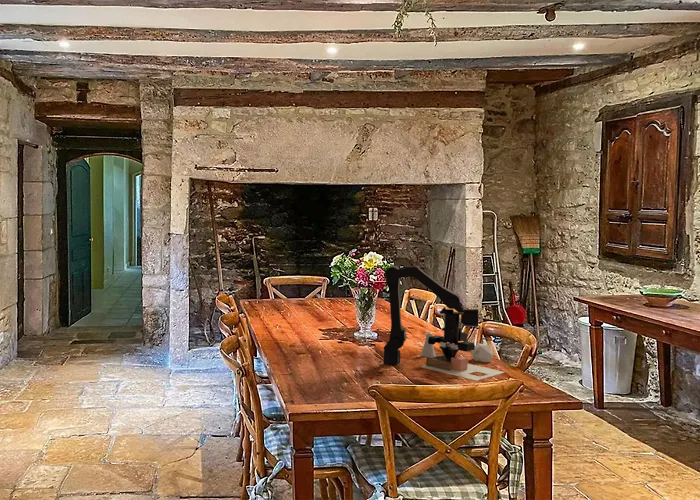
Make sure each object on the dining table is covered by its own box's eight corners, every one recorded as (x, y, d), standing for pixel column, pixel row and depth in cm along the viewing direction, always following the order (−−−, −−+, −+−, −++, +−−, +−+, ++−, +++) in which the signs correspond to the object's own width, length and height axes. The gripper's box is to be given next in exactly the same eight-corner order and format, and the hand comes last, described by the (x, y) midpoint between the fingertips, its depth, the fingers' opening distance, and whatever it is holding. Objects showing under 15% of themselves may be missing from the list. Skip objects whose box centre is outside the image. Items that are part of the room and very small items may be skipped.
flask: (438, 356, 295) (438, 333, 294) (435, 360, 288) (436, 336, 287) (421, 355, 297) (421, 332, 296) (418, 359, 290) (418, 335, 289)
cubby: (448, 370, 266) (449, 363, 266) (426, 365, 274) (426, 357, 274) (464, 366, 273) (464, 359, 273) (441, 361, 281) (442, 354, 281)
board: (476, 383, 253) (476, 380, 253) (420, 369, 271) (420, 366, 271) (505, 375, 266) (505, 372, 266) (450, 362, 285) (450, 359, 285)
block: (460, 371, 266) (461, 359, 265) (450, 369, 269) (451, 357, 268) (467, 369, 269) (467, 358, 268) (457, 367, 272) (458, 355, 272)
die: (469, 361, 290) (465, 346, 284) (485, 350, 292) (482, 335, 286) (482, 373, 283) (478, 357, 278) (498, 361, 286) (495, 345, 280)
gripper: (483, 326, 270) (482, 366, 271) (444, 319, 283) (443, 357, 284) (466, 330, 262) (465, 371, 263) (427, 322, 275) (426, 361, 276)
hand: (450, 365), depth 272 cm, fingers closed
